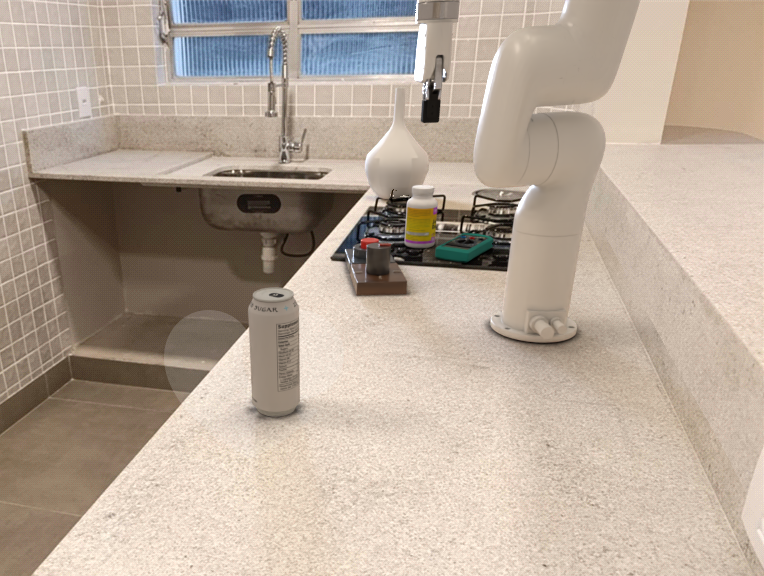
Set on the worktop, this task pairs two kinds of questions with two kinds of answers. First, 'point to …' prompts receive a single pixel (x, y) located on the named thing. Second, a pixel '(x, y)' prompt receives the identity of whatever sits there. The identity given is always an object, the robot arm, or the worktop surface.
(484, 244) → the digital multimeter
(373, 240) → the button
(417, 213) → the supplement bottle
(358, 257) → the button block
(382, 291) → the dial panel
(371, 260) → the dial
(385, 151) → the vase
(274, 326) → the energy drink can
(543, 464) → the worktop surface
